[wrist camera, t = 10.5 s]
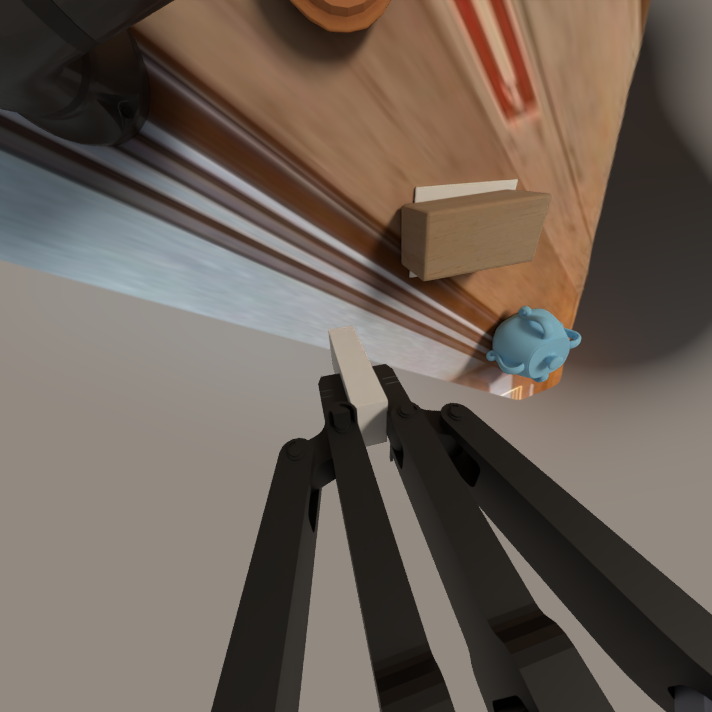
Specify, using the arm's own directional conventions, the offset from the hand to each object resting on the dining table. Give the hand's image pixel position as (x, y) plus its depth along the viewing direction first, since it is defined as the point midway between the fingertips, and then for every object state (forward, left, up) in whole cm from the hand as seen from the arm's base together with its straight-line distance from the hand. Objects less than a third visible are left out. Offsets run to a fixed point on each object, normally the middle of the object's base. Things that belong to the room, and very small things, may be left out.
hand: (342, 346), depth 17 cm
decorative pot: (+28, +49, -35) cm, 66 cm away
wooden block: (+2, +17, -29) cm, 34 cm away
